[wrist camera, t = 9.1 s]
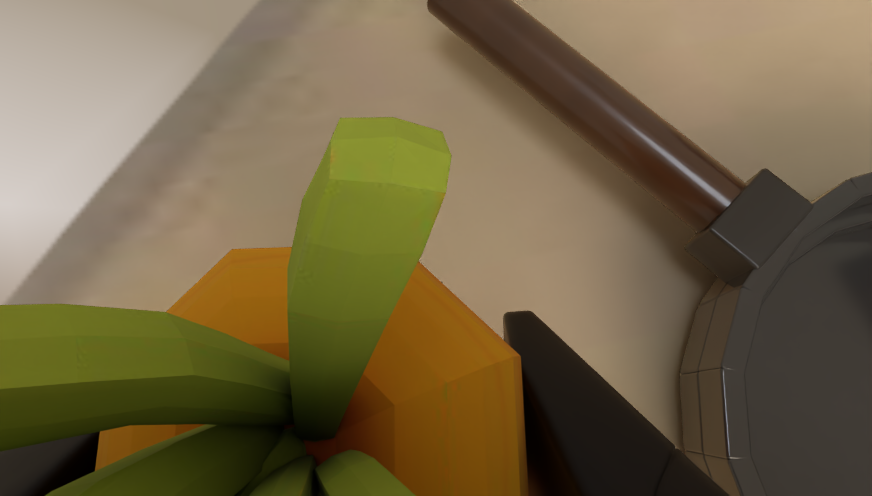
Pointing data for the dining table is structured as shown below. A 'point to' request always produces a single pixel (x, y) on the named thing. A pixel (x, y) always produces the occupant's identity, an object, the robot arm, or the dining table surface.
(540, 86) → the pan handle
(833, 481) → the pan
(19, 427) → the carrot
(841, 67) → the dining table surface
